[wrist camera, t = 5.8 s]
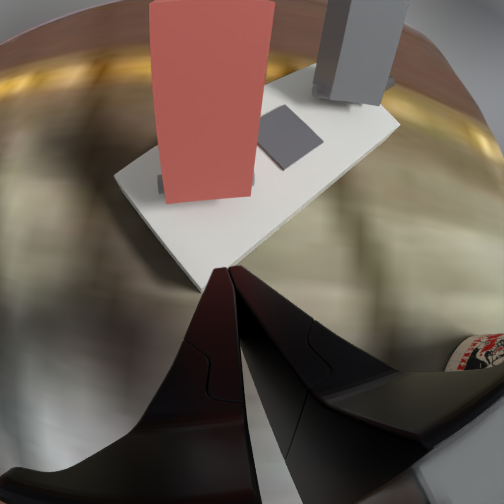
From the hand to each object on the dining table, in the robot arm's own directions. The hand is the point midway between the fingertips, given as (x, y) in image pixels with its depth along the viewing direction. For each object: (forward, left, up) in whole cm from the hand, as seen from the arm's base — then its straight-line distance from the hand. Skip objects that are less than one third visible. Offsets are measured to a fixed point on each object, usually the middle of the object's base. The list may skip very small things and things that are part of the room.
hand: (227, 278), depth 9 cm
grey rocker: (+15, +5, -5) cm, 16 cm away
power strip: (+12, +5, -8) cm, 15 cm away
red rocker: (+3, +5, -5) cm, 7 cm away
